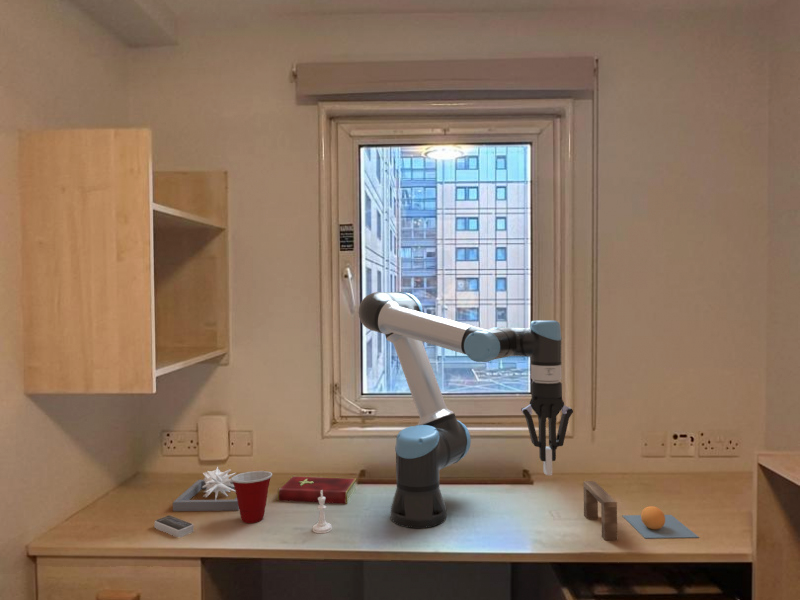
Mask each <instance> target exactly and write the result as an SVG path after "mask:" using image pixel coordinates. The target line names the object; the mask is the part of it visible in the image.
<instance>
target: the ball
mask: <svg viewBox="0 0 800 600" xmlns="http://www.w3.org/2000/svg"><path fill="white" fill-rule="evenodd" d="M640 515H641V519H642V522H643V523H644V525H645V526H646V527H648V528H650V529H653V530H657V529H660V528H662V527H663V526H664V524H665V516H664V515H665V514H664V512H663V510H661V509H660V508H659V507H658V506H654V505H650V506H646V507H644V508H643V509H642V511H641V513H640Z"/></svg>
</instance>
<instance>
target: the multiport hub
mask: <svg viewBox="0 0 800 600" xmlns="http://www.w3.org/2000/svg"><path fill="white" fill-rule="evenodd" d="M155 528H156V530H157V531H160V532H162V531H163V533H165V532H166V534H167V533H168V534H167V535H170V536H172V535H173V537H174V538H177V537H180V538H182V537H184V536H187V535H189V533H190V534H192V533H194V524H193V523H192V522H189V521H187V520H183V519H181V518H178V517H175V516H173V515H167V516H166V515H165V516H164V517H160V518H158V519H156V520H154V529H155Z"/></svg>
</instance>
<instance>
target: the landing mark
mask: <svg viewBox="0 0 800 600" xmlns="http://www.w3.org/2000/svg"><path fill="white" fill-rule="evenodd" d="M664 516H665V524H664V526H663V527H662V528H660V529H657V530H653V529H650V528H648V527H646V526H645V525H644V523H643V522H642V519H641V514H639V515H638V514H628V515H627V514H626V515H622V518H624V519H625V520H626V521H627V522H628V523H629V524H630V525H631V526H632V527H633V528H634V530H636V531H637V532H638V533H639V535H641V536H642V537H643V538H644V539H694V538H695V539H699V538H700V537H699V536H698V535H697V534H696V533H695V532H694V531H692V530H691V529H690V528H689V527H687V526H686V525H685V524H683V523H682V522H681V521H680V520H678V519H677V518H676V517H675V516H673V515H672V514H664Z"/></svg>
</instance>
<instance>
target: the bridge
mask: <svg viewBox="0 0 800 600" xmlns="http://www.w3.org/2000/svg"><path fill="white" fill-rule="evenodd" d="M598 502H599V503H600V505H601V506H600V507H601V510H600V511H601V538H602V539H603V540H604V541H618V501H616V500H615V499H614V498H613V497H612V496H611V495H610V494H609V493H608V492H607V491H606V490H604V489H603V487H602V486H601V485H599V483H597V482H596V481H595V480H589V481H588V480H586V481H585V480H583V516H584V518H586V519H589V520H591V519H599V507H598V506H599V503H598Z"/></svg>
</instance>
